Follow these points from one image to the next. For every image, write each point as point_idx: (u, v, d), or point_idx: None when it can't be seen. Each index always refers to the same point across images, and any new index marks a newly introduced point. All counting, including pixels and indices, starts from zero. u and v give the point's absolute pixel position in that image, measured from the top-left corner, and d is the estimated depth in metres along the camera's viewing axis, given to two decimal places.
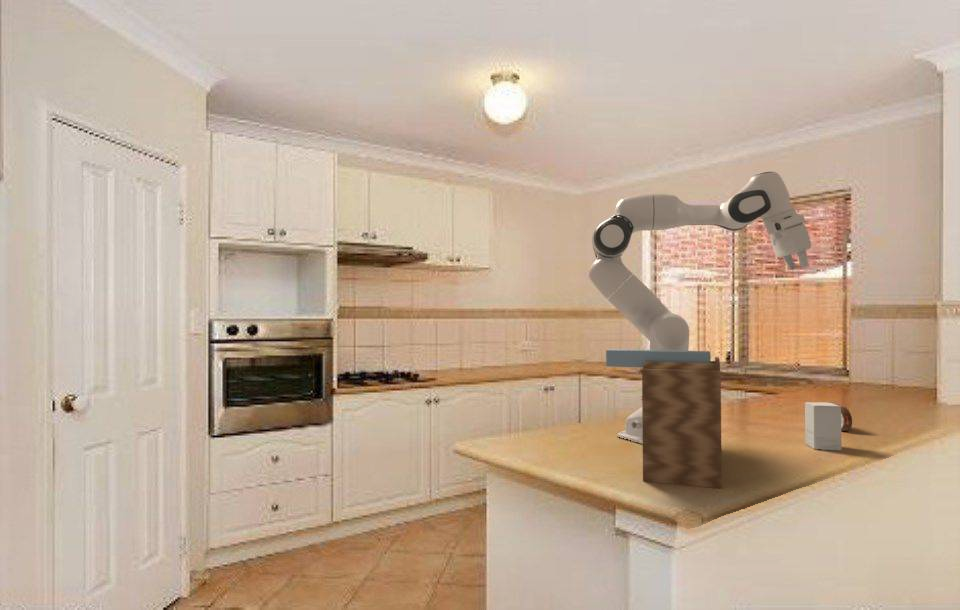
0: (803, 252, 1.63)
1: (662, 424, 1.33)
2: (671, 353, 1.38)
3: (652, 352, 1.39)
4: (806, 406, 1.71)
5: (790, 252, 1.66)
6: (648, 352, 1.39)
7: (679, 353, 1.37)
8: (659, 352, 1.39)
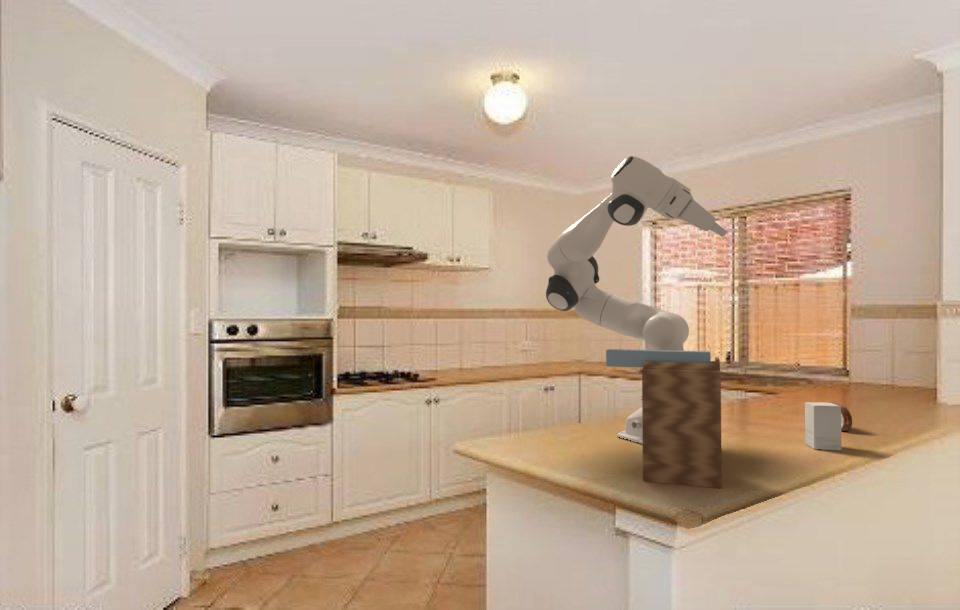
0: (712, 224, 1.37)
1: (662, 424, 1.33)
2: (671, 353, 1.38)
3: (652, 352, 1.39)
4: (806, 406, 1.71)
5: None
6: (648, 352, 1.39)
7: (679, 353, 1.37)
8: (659, 352, 1.39)
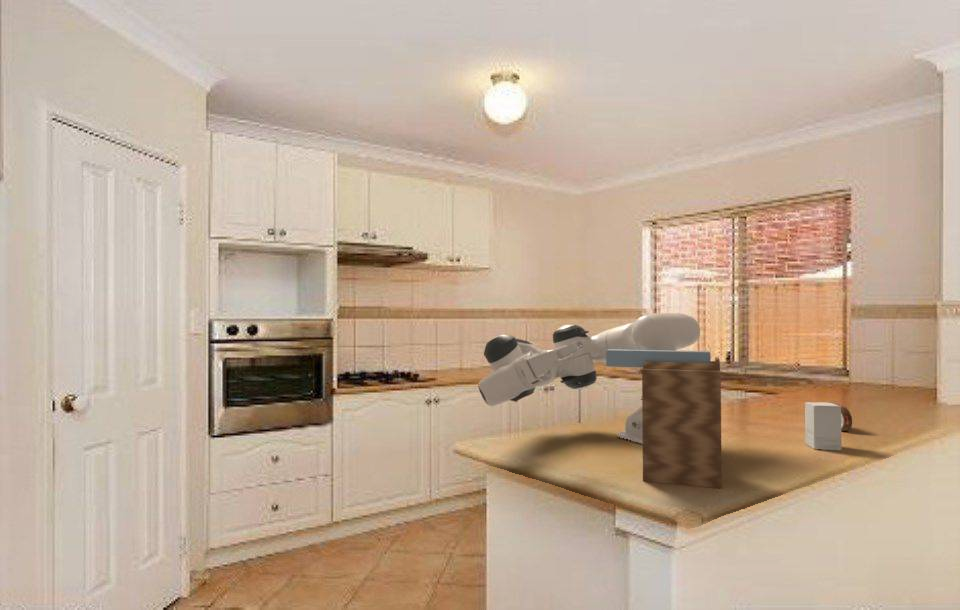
0: (559, 352, 1.42)
1: (662, 424, 1.33)
2: (671, 353, 1.38)
3: (652, 352, 1.39)
4: (806, 406, 1.71)
5: (562, 361, 1.45)
6: (648, 352, 1.39)
7: (679, 353, 1.37)
8: (659, 352, 1.39)
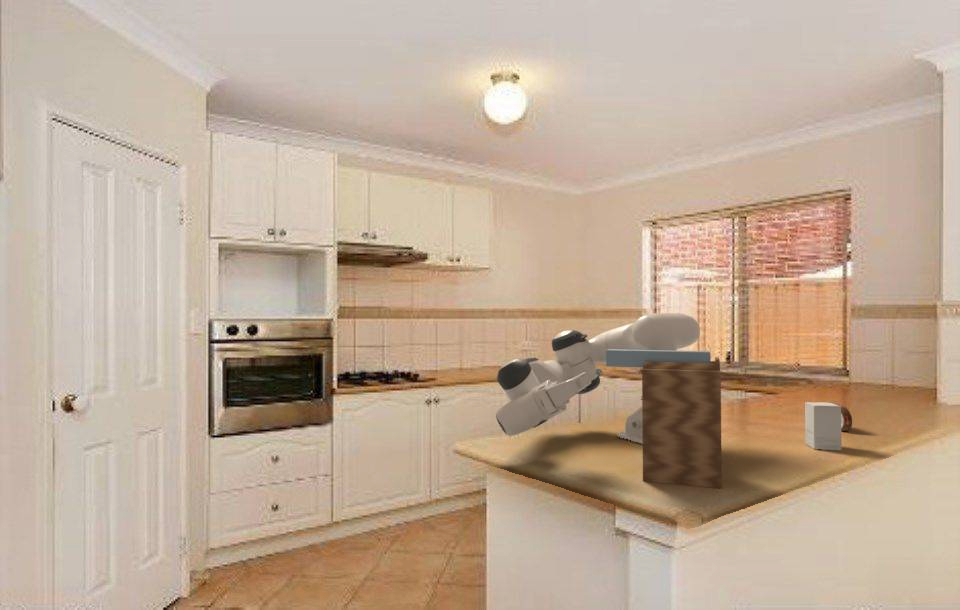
0: (578, 381, 1.40)
1: (662, 424, 1.33)
2: (671, 353, 1.38)
3: (652, 352, 1.39)
4: (806, 406, 1.71)
5: None
6: (648, 352, 1.39)
7: (679, 353, 1.37)
8: (659, 352, 1.39)
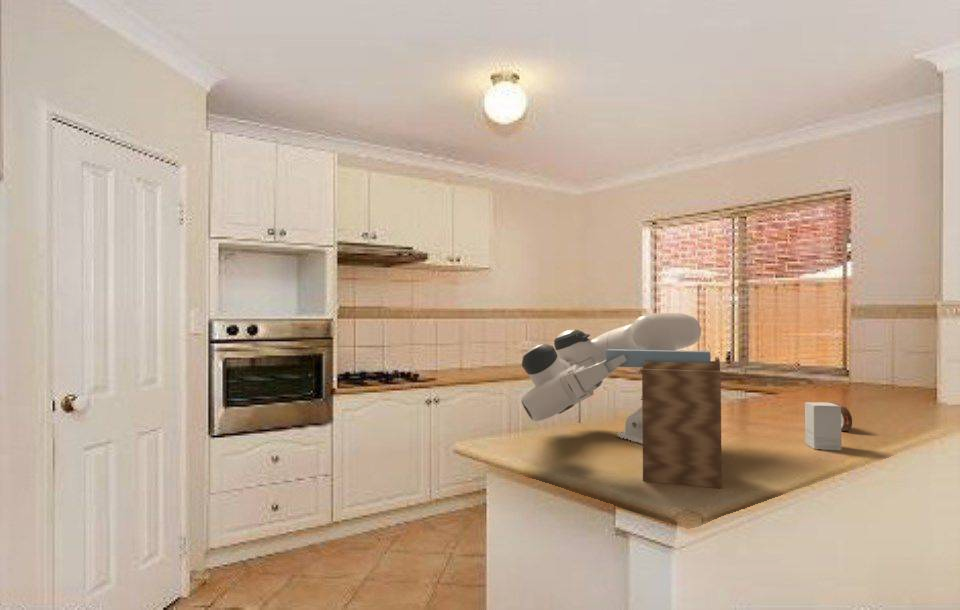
0: (609, 364, 1.40)
1: (662, 424, 1.33)
2: (671, 353, 1.38)
3: (652, 352, 1.39)
4: (806, 406, 1.71)
5: None
6: (648, 352, 1.39)
7: (679, 353, 1.37)
8: (659, 352, 1.39)
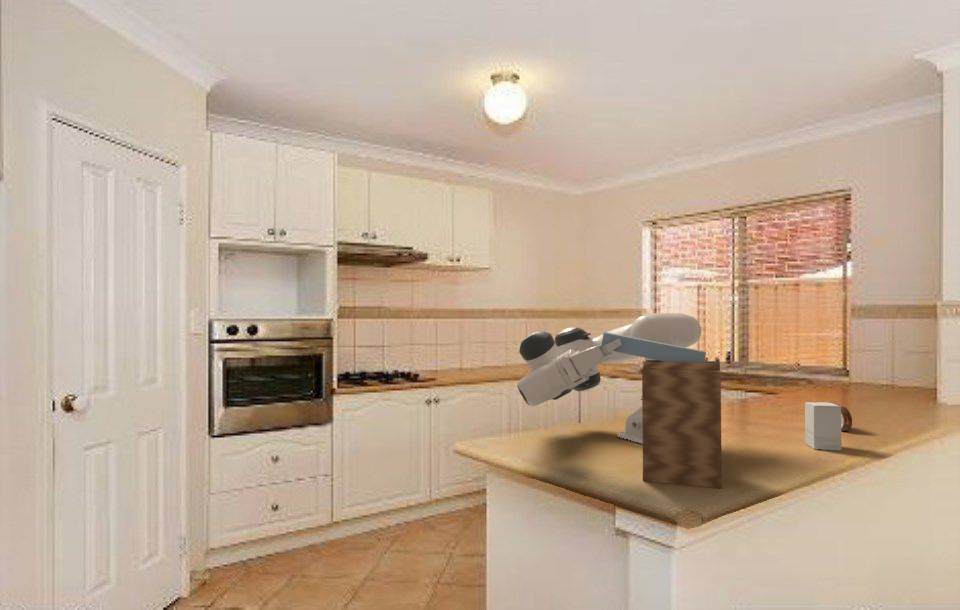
0: (604, 348, 1.41)
1: (662, 424, 1.33)
2: (667, 346, 1.38)
3: (648, 342, 1.39)
4: (806, 406, 1.71)
5: (605, 358, 1.42)
6: (644, 342, 1.40)
7: (675, 348, 1.37)
8: (655, 344, 1.39)
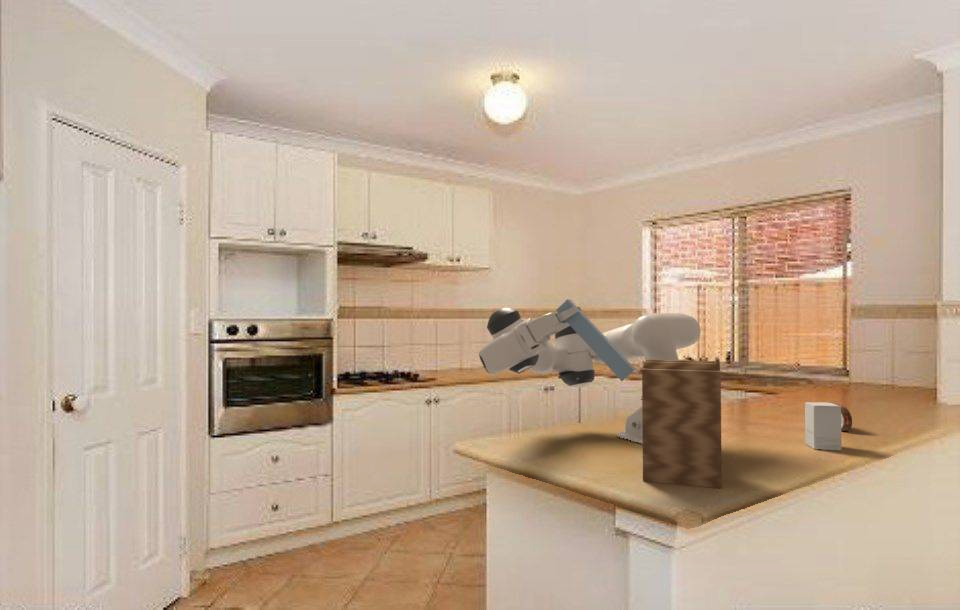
0: (560, 316, 1.45)
1: (662, 424, 1.33)
2: (608, 345, 1.43)
3: (596, 332, 1.44)
4: (806, 406, 1.71)
5: (561, 325, 1.46)
6: (593, 329, 1.44)
7: (613, 351, 1.42)
8: (600, 337, 1.44)
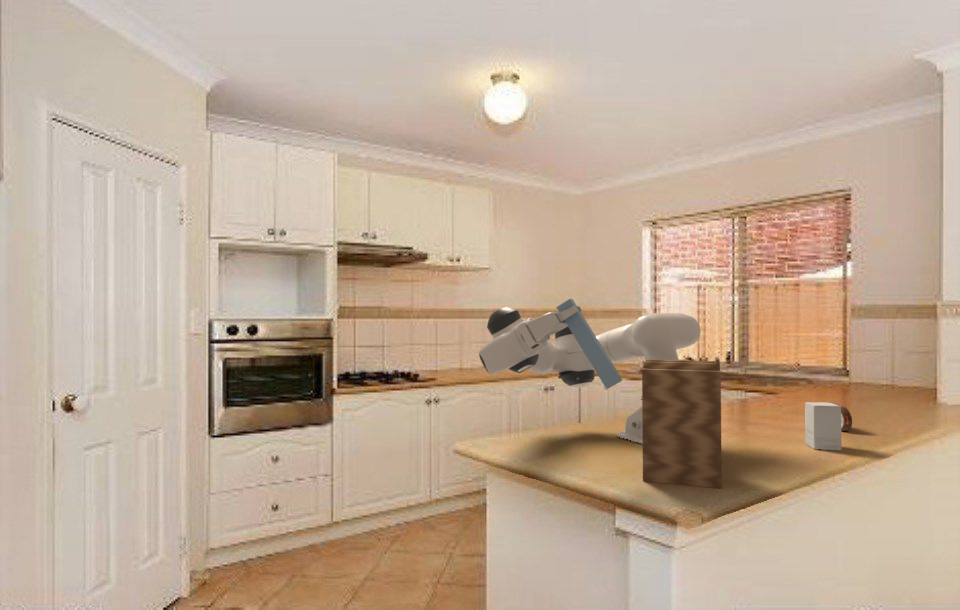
0: (560, 315, 1.45)
1: (662, 424, 1.33)
2: (600, 351, 1.44)
3: (591, 336, 1.44)
4: (806, 406, 1.71)
5: (561, 325, 1.46)
6: (589, 333, 1.45)
7: (604, 358, 1.43)
8: (595, 342, 1.44)
